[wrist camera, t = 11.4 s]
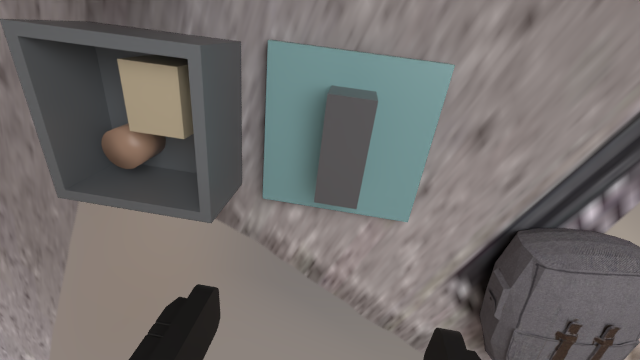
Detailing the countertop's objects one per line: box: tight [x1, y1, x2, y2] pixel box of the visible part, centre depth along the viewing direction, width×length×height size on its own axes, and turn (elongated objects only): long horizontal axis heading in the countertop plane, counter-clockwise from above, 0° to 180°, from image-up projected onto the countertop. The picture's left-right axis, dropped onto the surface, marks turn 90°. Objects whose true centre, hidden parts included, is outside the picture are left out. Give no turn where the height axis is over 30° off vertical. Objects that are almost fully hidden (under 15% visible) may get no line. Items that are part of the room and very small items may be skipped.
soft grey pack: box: [480, 228, 640, 360], centre depth 33 cm, size 15×8×20 cm
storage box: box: [0, 19, 242, 223], centre depth 28 cm, size 15×15×8 cm
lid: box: [263, 40, 455, 222], centre depth 29 cm, size 16×16×6 cm
